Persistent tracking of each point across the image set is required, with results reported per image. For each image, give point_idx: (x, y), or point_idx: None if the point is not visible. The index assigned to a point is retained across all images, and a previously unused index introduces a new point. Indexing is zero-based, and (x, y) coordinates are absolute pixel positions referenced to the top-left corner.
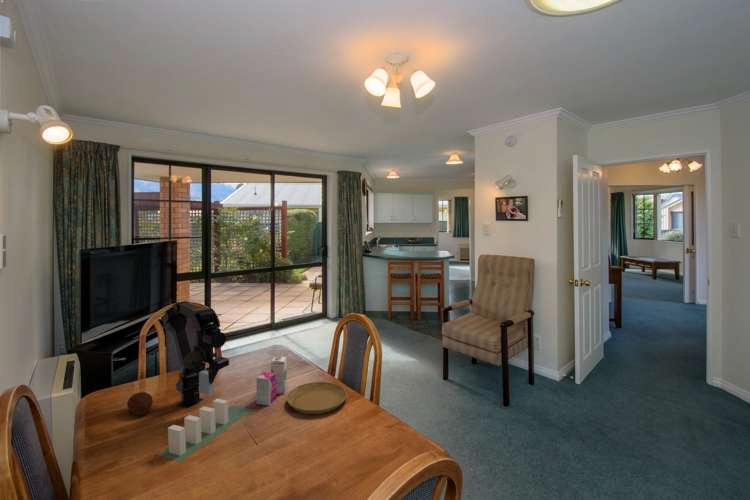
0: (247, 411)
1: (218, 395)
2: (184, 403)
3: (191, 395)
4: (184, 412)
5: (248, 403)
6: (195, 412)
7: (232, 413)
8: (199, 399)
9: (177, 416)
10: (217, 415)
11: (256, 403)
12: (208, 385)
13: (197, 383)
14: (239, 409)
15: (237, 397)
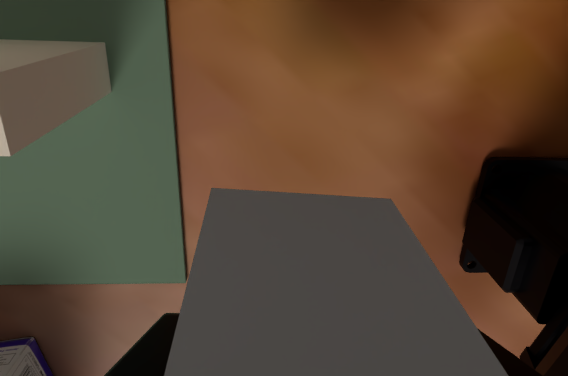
0: (2, 256)
1: None
2: (556, 171)
3: (539, 226)
4: (478, 89)
5: (108, 335)
6: (388, 120)
7: (80, 199)
8: (468, 247)
9: (495, 18)
10: (18, 49)
11: (25, 346)
12: (192, 272)
13: (562, 337)
14: (82, 257)
15: None
